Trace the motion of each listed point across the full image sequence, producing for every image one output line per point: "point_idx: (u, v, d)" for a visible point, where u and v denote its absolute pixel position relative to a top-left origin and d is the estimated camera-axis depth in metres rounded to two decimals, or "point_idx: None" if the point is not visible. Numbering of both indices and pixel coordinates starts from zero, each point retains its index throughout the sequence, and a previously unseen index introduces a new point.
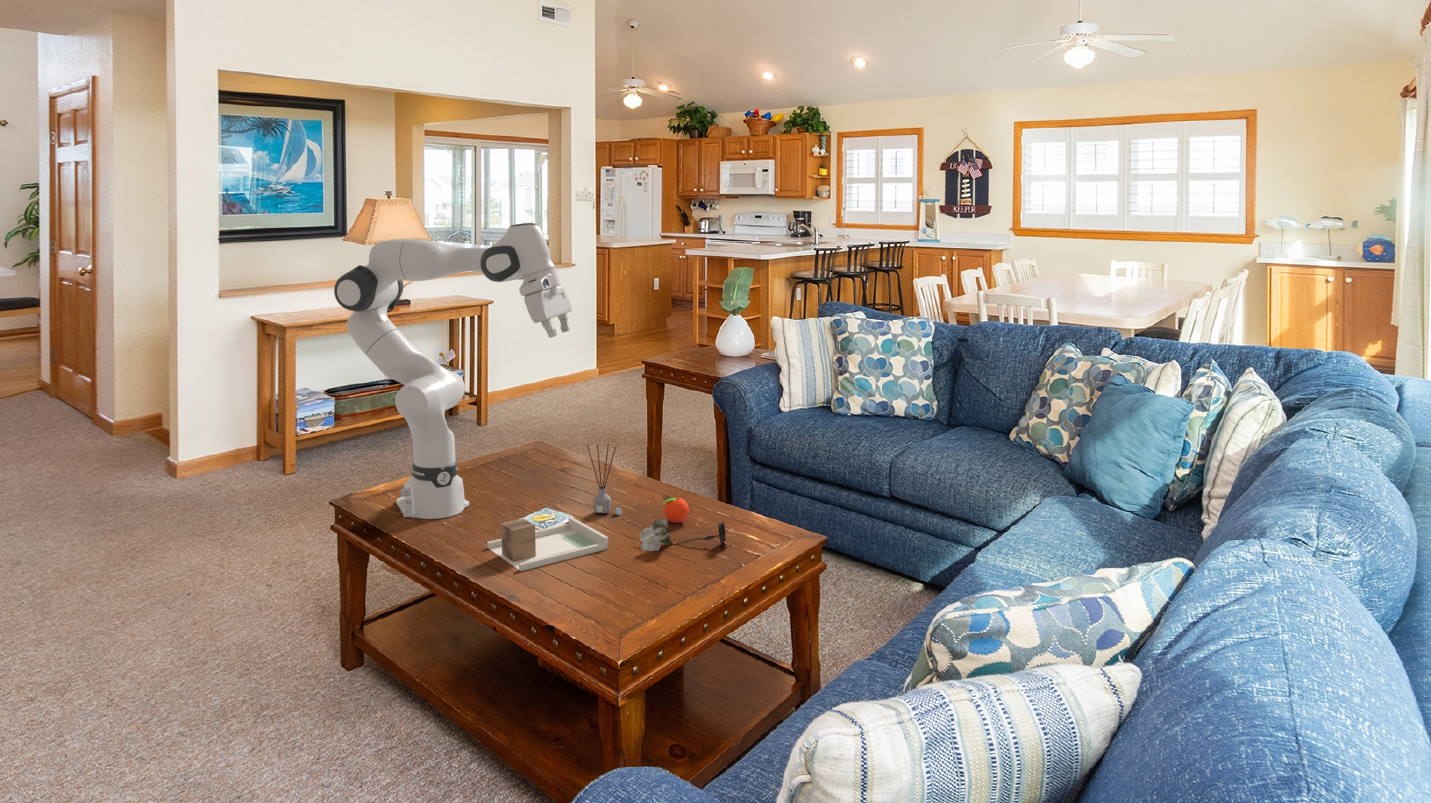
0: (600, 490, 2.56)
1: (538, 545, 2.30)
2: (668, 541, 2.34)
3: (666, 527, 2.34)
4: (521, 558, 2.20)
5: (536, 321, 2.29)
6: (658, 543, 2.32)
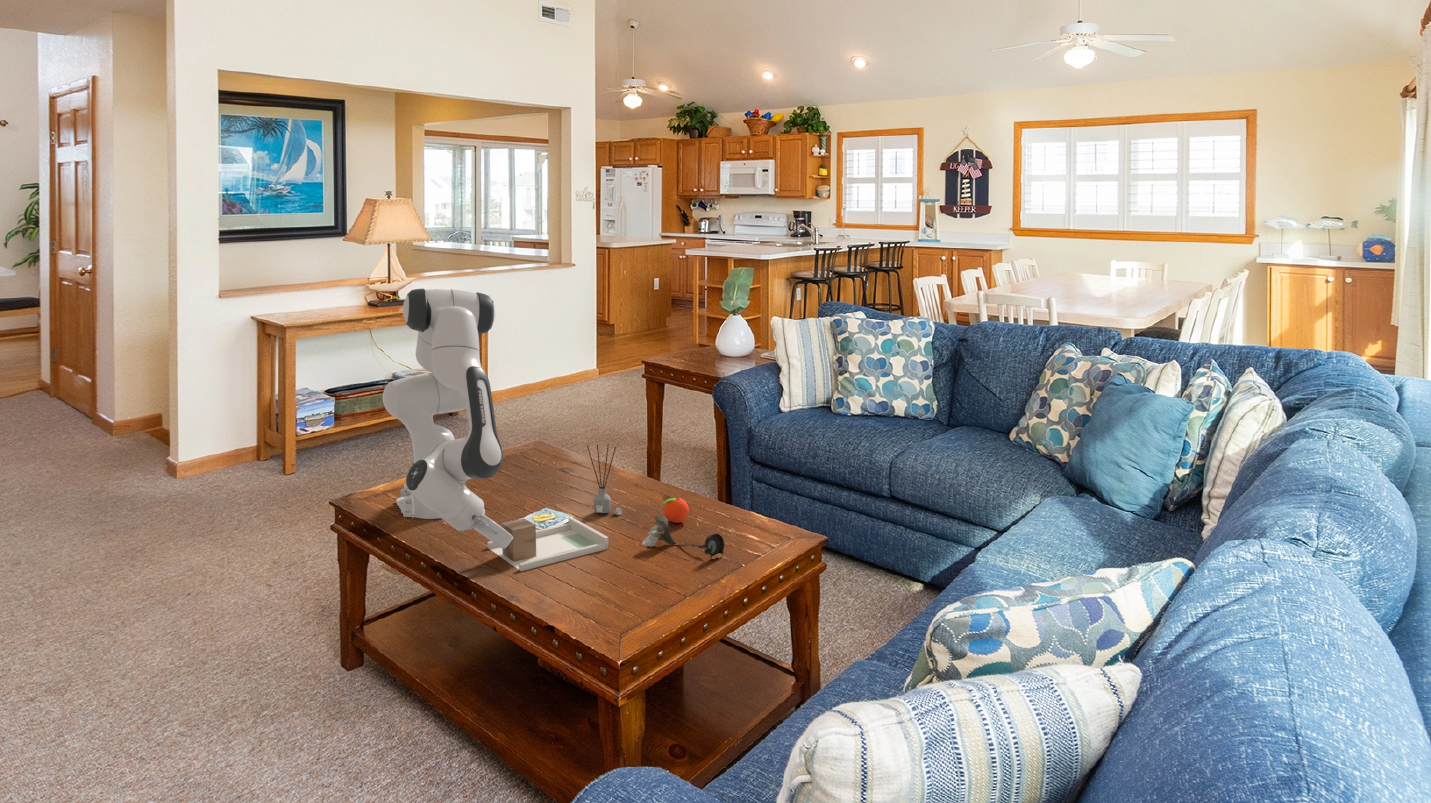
0: (600, 490, 2.56)
1: (538, 545, 2.30)
2: (668, 540, 2.35)
3: (667, 526, 2.34)
4: (522, 558, 2.20)
5: None
6: (655, 540, 2.35)
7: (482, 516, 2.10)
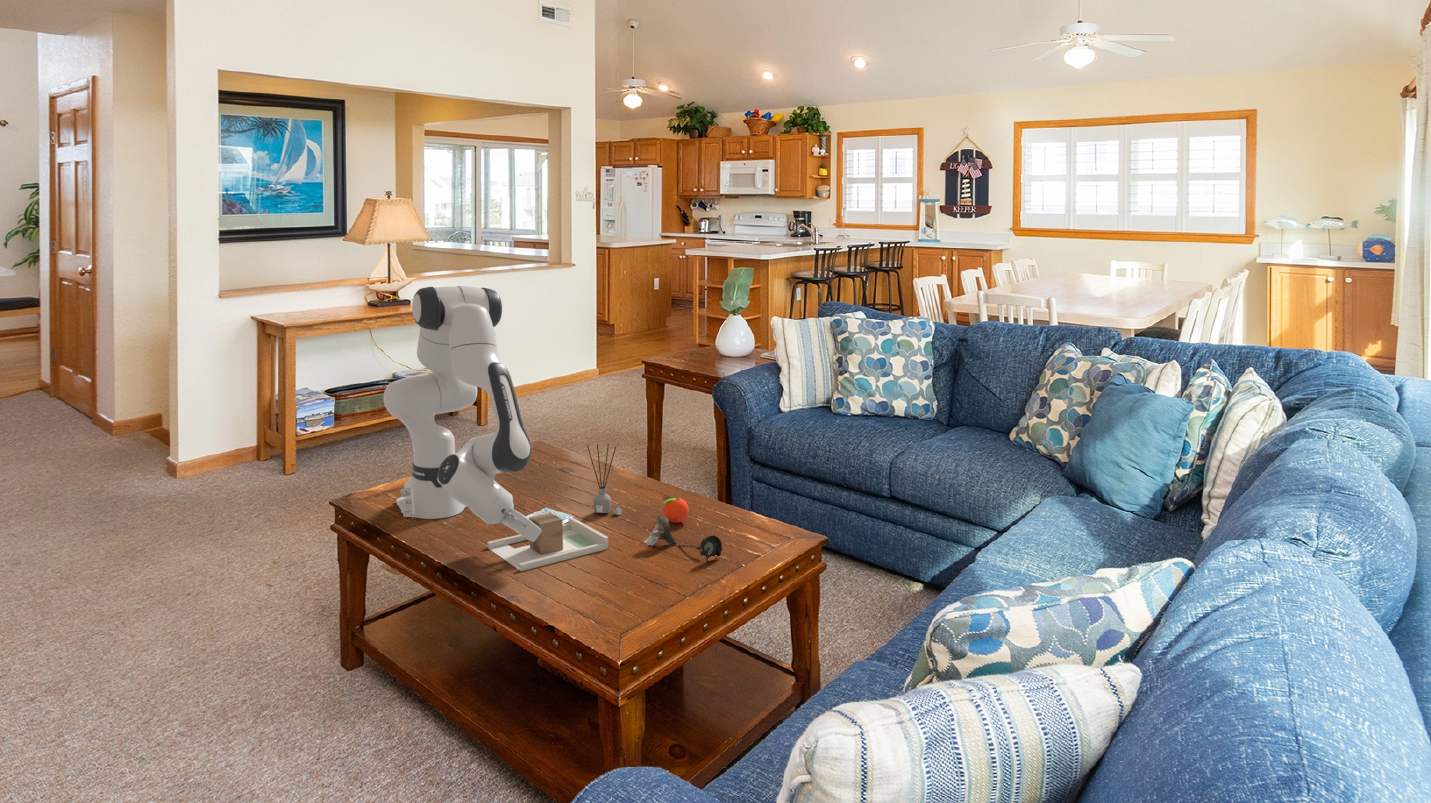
0: (600, 490, 2.56)
1: None
2: (668, 540, 2.35)
3: (668, 526, 2.35)
4: (549, 551, 2.25)
5: None
6: (656, 539, 2.35)
7: (511, 510, 2.14)
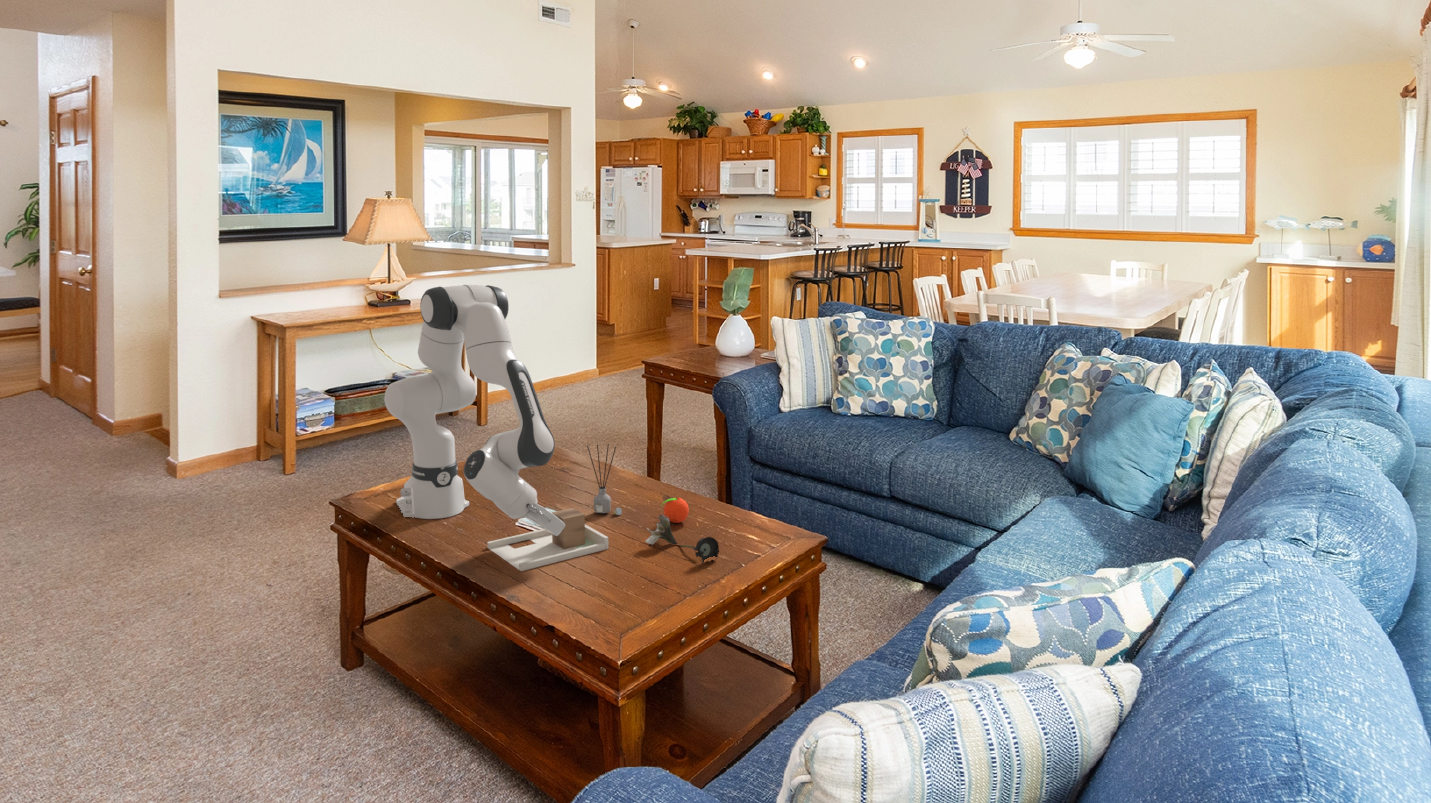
0: (600, 490, 2.56)
1: (538, 545, 2.30)
2: (669, 540, 2.35)
3: (668, 525, 2.35)
4: (571, 546, 2.29)
5: None
6: (657, 538, 2.36)
7: (535, 504, 2.18)
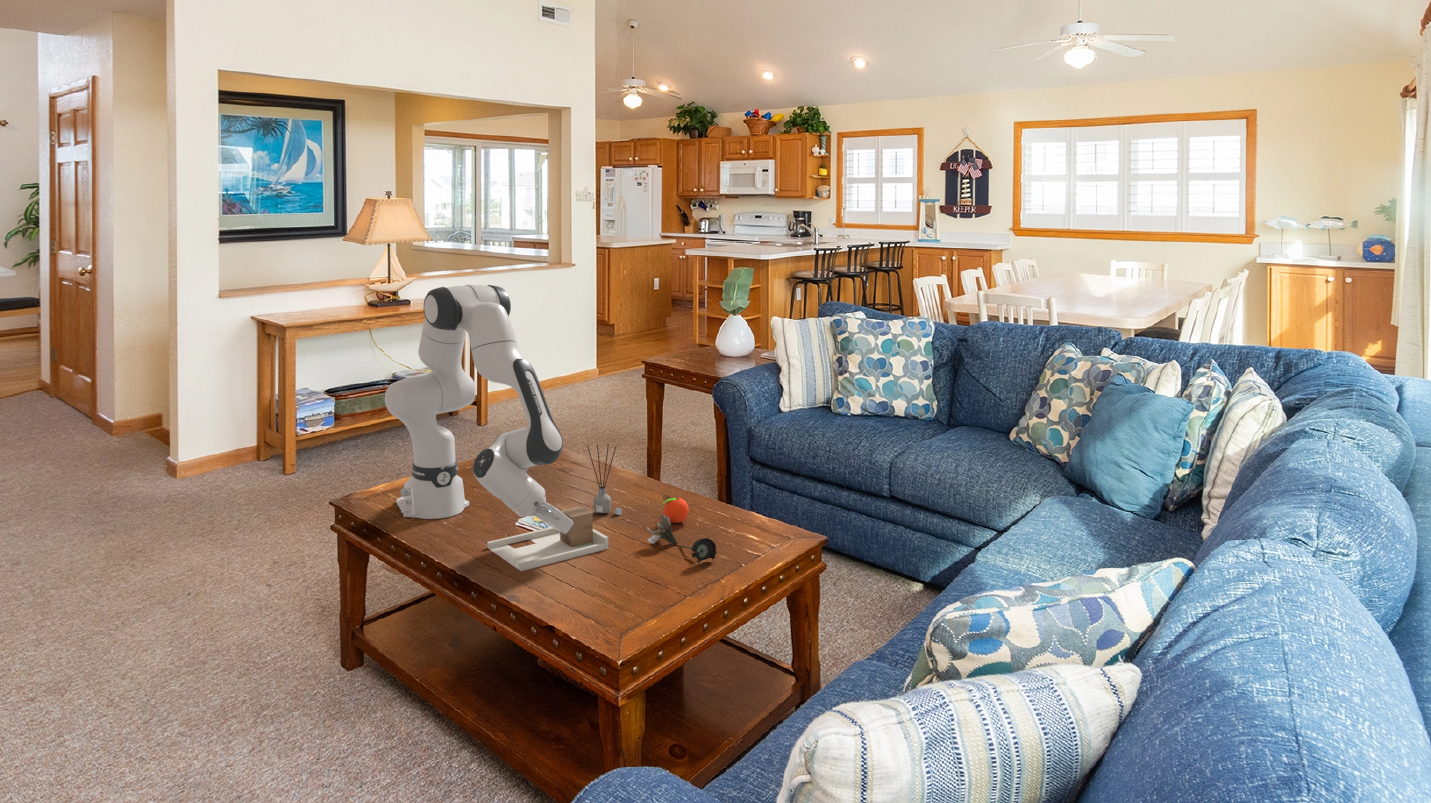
0: (600, 490, 2.56)
1: (538, 545, 2.30)
2: (669, 540, 2.35)
3: (669, 525, 2.35)
4: (579, 544, 2.30)
5: None
6: (657, 538, 2.36)
7: (544, 503, 2.19)
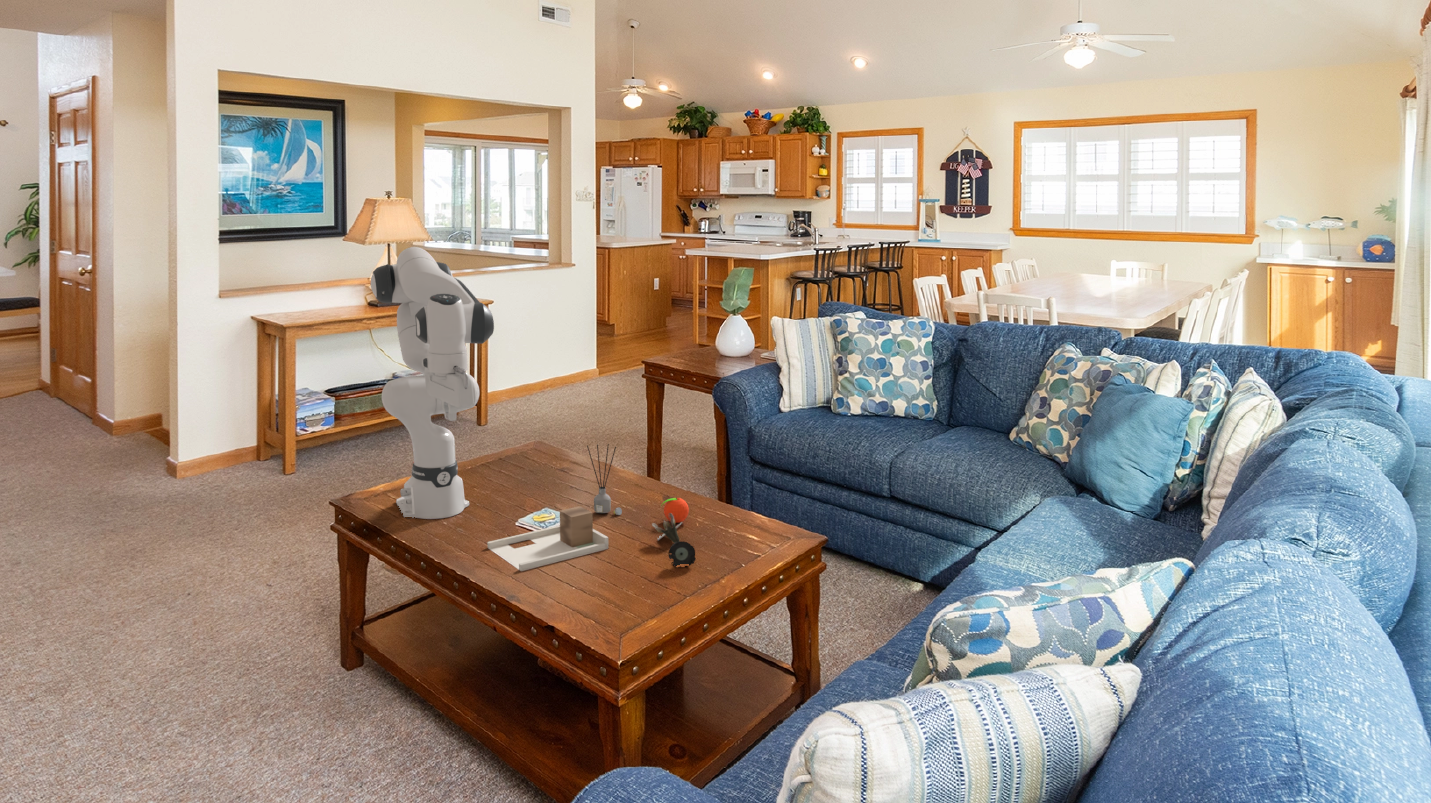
0: (600, 490, 2.56)
1: (538, 545, 2.30)
2: (672, 539, 2.36)
3: None
4: (579, 544, 2.30)
5: None
6: (663, 535, 2.38)
7: None
